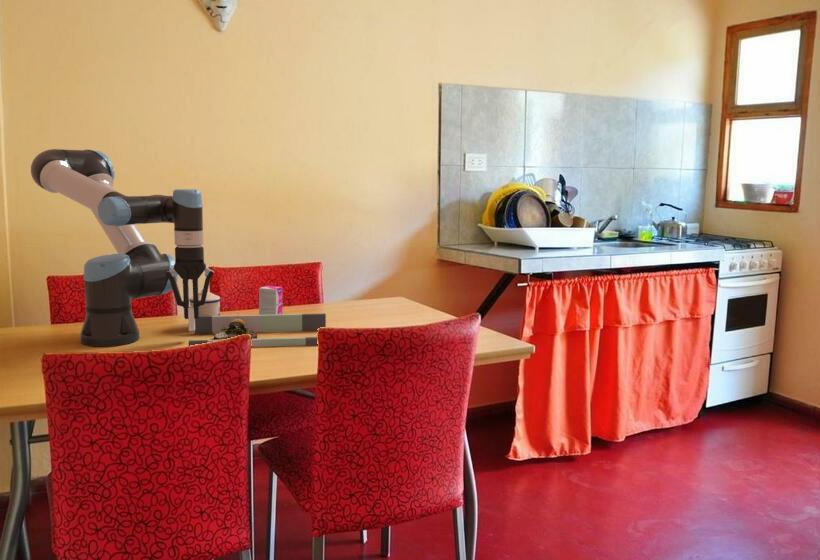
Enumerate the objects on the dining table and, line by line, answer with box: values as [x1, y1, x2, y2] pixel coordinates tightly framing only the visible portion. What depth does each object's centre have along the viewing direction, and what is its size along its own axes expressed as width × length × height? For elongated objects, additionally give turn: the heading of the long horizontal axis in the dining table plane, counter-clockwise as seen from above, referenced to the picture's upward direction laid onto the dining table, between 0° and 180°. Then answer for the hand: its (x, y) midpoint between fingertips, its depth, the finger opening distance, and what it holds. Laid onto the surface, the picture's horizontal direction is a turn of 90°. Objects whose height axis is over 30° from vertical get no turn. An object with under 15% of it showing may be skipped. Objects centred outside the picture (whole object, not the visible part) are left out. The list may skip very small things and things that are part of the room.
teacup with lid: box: [189, 288, 221, 316], centre depth 218 cm, size 12×9×12 cm
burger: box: [213, 319, 258, 340], centre depth 203 cm, size 12×12×8 cm
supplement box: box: [258, 285, 284, 315], centre depth 224 cm, size 6×6×12 cm
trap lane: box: [188, 312, 327, 348], centre depth 204 cm, size 38×18×5 cm, turn 102°
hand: (192, 330), depth 200 cm, fingers closed
